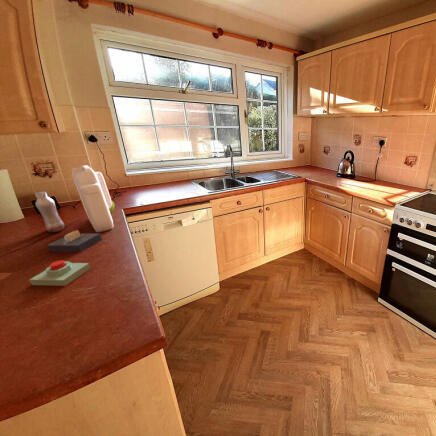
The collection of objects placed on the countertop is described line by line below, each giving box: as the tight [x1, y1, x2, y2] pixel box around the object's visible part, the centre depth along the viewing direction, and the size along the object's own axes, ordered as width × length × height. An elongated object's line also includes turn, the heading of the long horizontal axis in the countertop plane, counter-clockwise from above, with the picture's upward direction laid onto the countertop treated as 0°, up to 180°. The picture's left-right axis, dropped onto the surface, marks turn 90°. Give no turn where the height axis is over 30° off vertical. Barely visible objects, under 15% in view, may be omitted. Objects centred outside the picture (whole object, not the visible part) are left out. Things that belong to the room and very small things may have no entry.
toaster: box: [70, 164, 114, 233], centre depth 121 cm, size 27×11×30 cm, turn 44°
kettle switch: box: [49, 259, 66, 270], centre depth 82 cm, size 4×4×2 cm
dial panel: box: [46, 233, 103, 253], centre depth 105 cm, size 14×11×3 cm
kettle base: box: [29, 260, 92, 287], centre depth 83 cm, size 12×10×4 cm
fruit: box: [109, 200, 115, 214], centre depth 139 cm, size 9×9×10 cm
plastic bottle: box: [34, 190, 66, 234], centre depth 117 cm, size 6×7×20 cm
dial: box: [64, 229, 81, 242], centre depth 104 cm, size 5×1×3 cm, turn 175°
